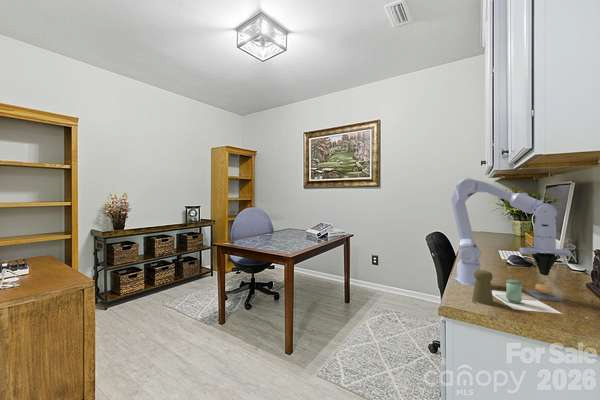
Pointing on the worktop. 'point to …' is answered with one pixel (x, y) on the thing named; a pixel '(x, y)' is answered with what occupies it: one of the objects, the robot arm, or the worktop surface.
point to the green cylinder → (514, 291)
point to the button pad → (544, 296)
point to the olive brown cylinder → (482, 287)
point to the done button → (543, 288)
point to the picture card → (525, 303)
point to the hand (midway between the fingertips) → (544, 274)
